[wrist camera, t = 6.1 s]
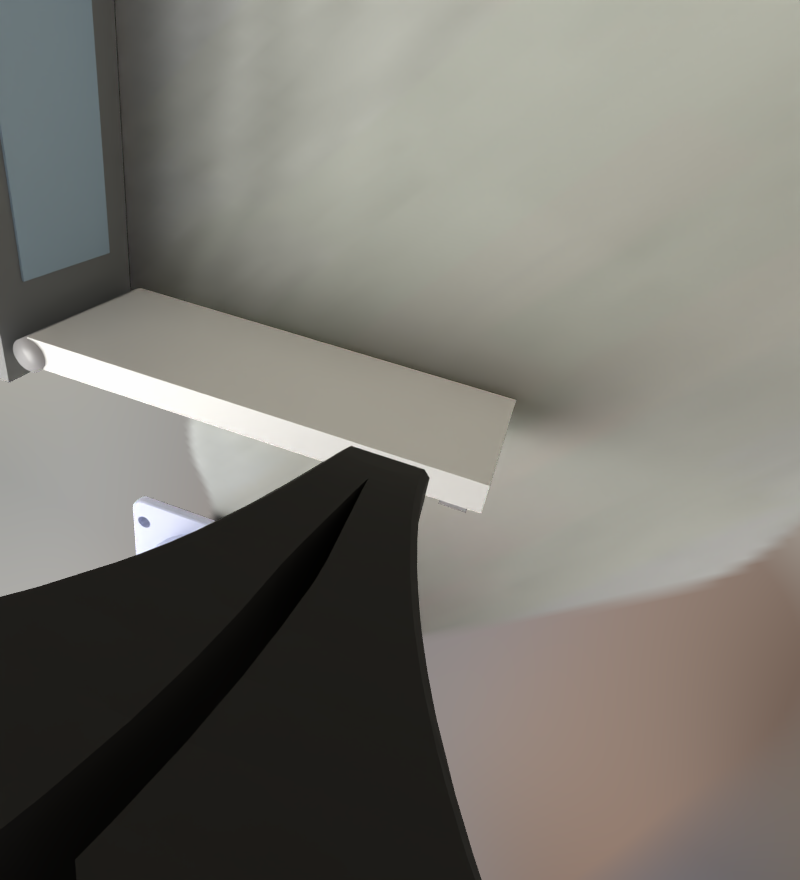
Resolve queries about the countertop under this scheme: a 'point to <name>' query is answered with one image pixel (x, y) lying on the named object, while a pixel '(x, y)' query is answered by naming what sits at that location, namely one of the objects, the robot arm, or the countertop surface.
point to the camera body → (58, 167)
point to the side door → (279, 388)
